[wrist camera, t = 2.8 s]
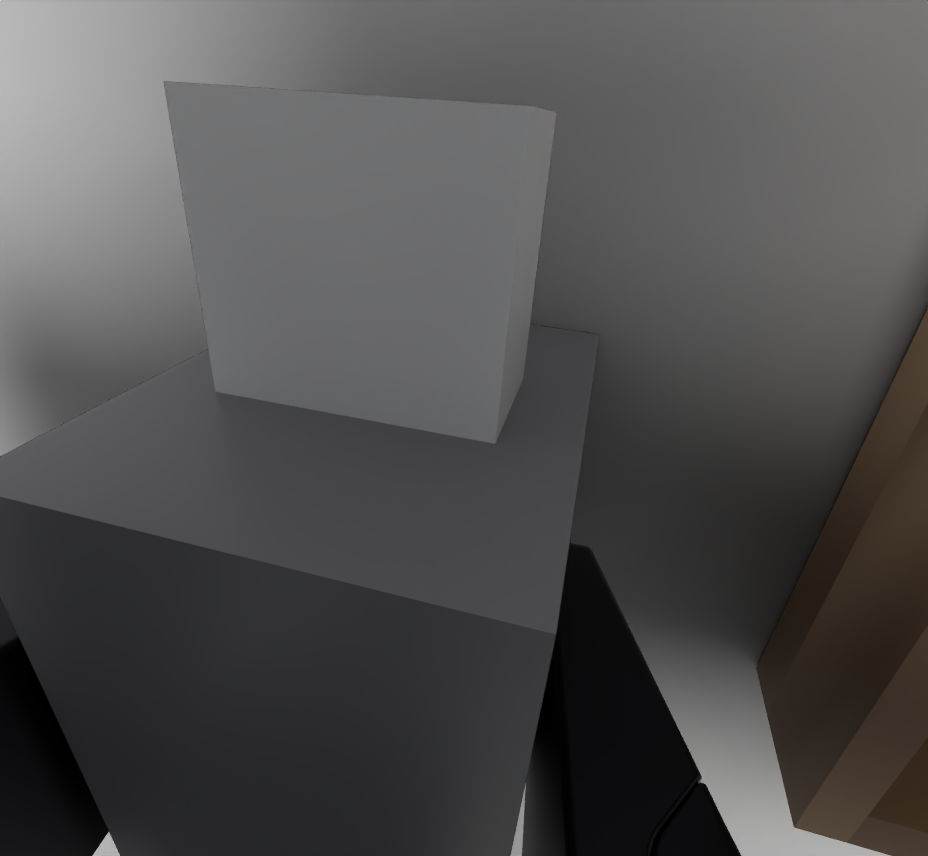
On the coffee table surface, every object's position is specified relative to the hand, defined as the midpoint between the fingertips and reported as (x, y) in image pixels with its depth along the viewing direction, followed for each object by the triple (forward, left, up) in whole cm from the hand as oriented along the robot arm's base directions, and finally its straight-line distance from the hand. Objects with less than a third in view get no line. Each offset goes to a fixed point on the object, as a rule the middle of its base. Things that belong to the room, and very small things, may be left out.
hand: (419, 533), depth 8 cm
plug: (0, 0, -1) cm, 1 cm away
